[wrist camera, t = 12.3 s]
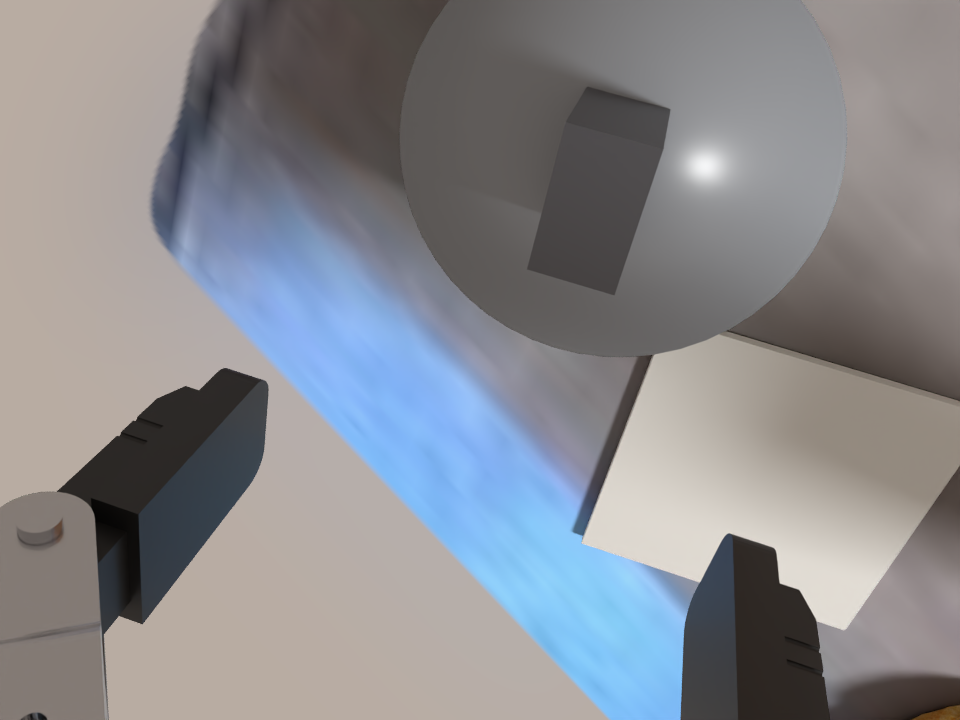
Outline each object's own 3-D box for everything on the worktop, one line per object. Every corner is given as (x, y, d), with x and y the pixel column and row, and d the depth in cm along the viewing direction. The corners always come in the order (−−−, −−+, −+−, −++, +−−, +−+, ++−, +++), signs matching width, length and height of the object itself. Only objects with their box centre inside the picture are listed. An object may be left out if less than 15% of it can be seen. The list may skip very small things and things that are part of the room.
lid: (931, -18, 25) (987, 8, 20) (740, 389, 34) (746, 480, 29) (448, -138, 27) (386, -142, 22) (383, 280, 36) (327, 348, 30)
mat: (989, 410, 39) (993, 417, 39) (843, 622, 48) (844, 630, 47) (668, 313, 41) (667, 319, 40) (582, 536, 49) (581, 543, 49)
